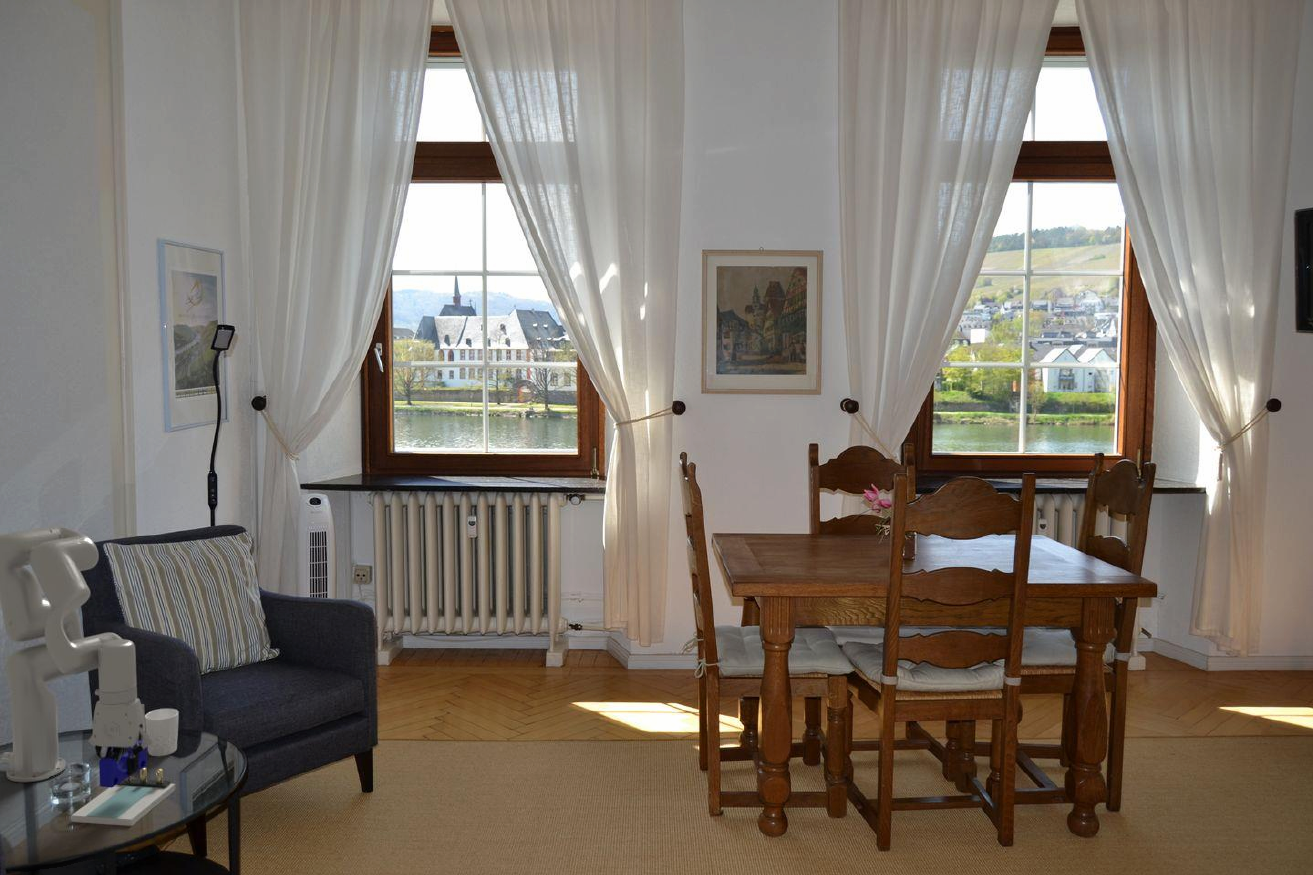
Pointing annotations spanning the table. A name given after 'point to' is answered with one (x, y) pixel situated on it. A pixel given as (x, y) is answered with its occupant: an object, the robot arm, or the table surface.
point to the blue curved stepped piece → (118, 769)
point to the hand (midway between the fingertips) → (121, 771)
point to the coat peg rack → (147, 783)
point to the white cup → (162, 731)
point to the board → (122, 805)
